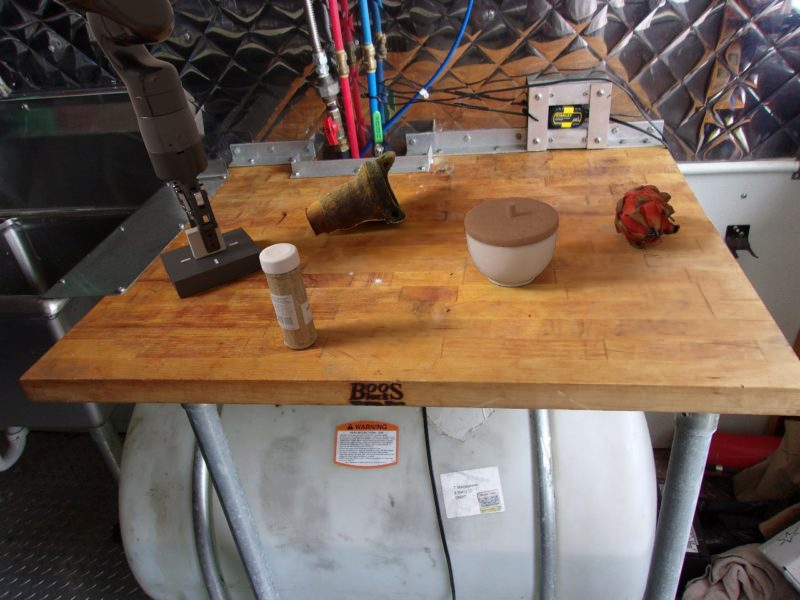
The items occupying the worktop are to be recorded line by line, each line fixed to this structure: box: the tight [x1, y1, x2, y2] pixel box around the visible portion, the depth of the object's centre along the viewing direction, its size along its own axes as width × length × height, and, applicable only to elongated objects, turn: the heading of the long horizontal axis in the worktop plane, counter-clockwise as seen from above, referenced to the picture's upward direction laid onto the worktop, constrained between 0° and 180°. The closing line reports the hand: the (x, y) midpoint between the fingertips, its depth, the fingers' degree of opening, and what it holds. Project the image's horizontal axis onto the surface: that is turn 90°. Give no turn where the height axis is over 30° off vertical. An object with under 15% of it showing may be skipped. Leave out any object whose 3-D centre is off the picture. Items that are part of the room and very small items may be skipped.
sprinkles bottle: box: [259, 242, 318, 350], centre depth 73 cm, size 5×5×14 cm
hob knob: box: [184, 220, 226, 259], centre depth 92 cm, size 5×2×5 cm, turn 121°
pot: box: [304, 150, 408, 237], centre depth 102 cm, size 17×11×18 cm
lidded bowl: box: [464, 196, 560, 288], centre depth 81 cm, size 13×13×11 cm
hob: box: [159, 226, 263, 299], centre depth 94 cm, size 14×11×3 cm
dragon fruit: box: [613, 184, 681, 250], centre depth 87 cm, size 8×8×12 cm
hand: (206, 240), depth 92 cm, fingers open, 8 cm apart
